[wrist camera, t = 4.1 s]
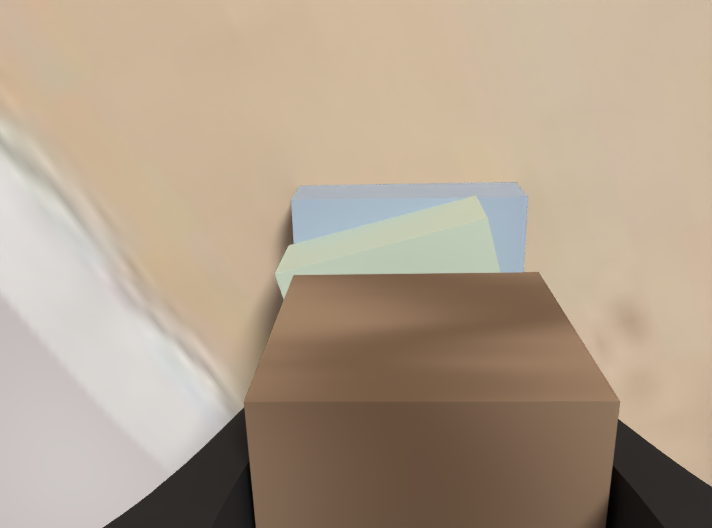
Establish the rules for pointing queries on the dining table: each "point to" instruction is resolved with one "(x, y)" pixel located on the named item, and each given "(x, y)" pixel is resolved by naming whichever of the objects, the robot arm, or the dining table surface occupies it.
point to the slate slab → (412, 210)
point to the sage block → (400, 246)
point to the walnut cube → (428, 407)
